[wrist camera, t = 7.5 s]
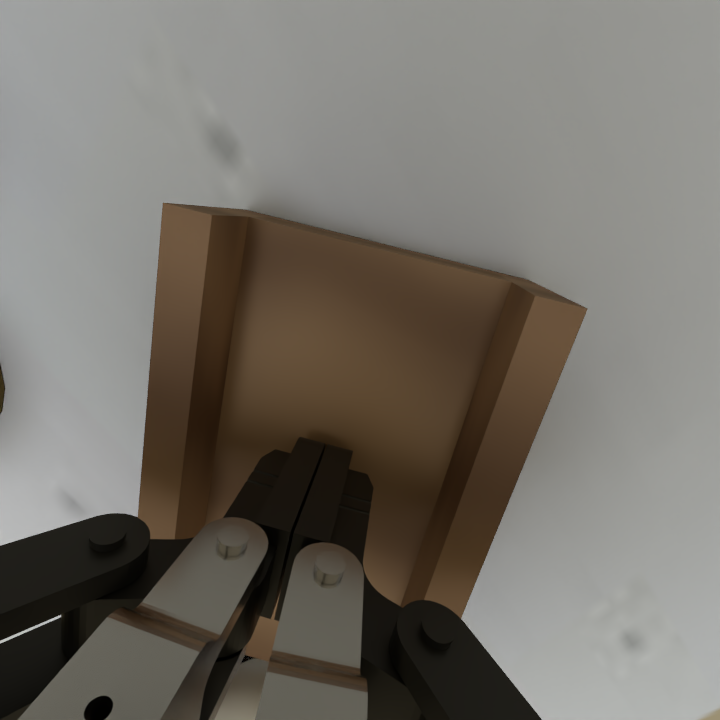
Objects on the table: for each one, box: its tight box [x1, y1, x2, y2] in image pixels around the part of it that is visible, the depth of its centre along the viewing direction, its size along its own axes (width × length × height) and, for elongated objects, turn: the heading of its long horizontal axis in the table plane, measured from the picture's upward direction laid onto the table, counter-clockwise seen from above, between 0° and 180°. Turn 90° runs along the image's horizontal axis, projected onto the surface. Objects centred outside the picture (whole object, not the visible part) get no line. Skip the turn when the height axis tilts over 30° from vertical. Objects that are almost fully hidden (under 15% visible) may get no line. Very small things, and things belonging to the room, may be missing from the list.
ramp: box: [138, 203, 587, 662], centre depth 14 cm, size 22×8×4 cm, turn 167°
